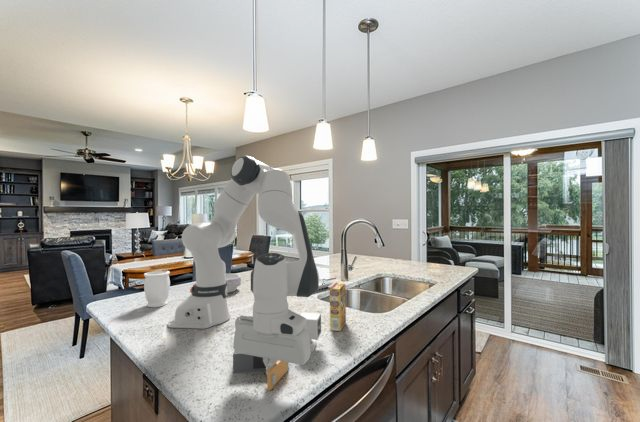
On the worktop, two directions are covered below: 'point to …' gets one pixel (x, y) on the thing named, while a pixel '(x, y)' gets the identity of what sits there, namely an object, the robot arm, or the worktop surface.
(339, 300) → the candy box
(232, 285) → the paper bowls
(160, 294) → the jar
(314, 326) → the security camera
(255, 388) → the worktop surface
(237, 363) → the grey knob box
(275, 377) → the door
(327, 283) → the salad plate
